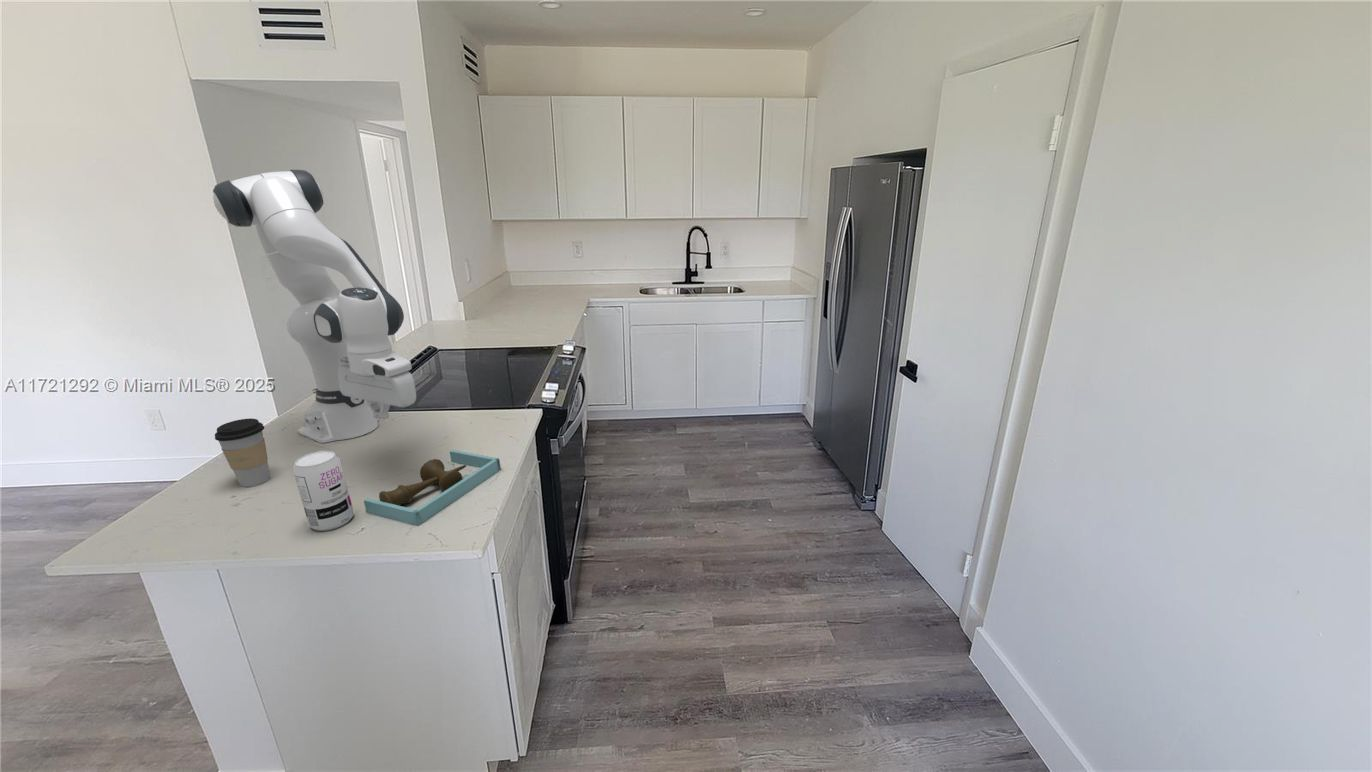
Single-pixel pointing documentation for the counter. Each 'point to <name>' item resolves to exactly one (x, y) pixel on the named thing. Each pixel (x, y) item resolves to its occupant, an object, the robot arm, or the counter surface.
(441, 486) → the kendama
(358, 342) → the robot arm
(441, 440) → the counter surface
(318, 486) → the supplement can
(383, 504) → the open rectangular frame
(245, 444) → the coffee cup
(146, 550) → the counter surface
